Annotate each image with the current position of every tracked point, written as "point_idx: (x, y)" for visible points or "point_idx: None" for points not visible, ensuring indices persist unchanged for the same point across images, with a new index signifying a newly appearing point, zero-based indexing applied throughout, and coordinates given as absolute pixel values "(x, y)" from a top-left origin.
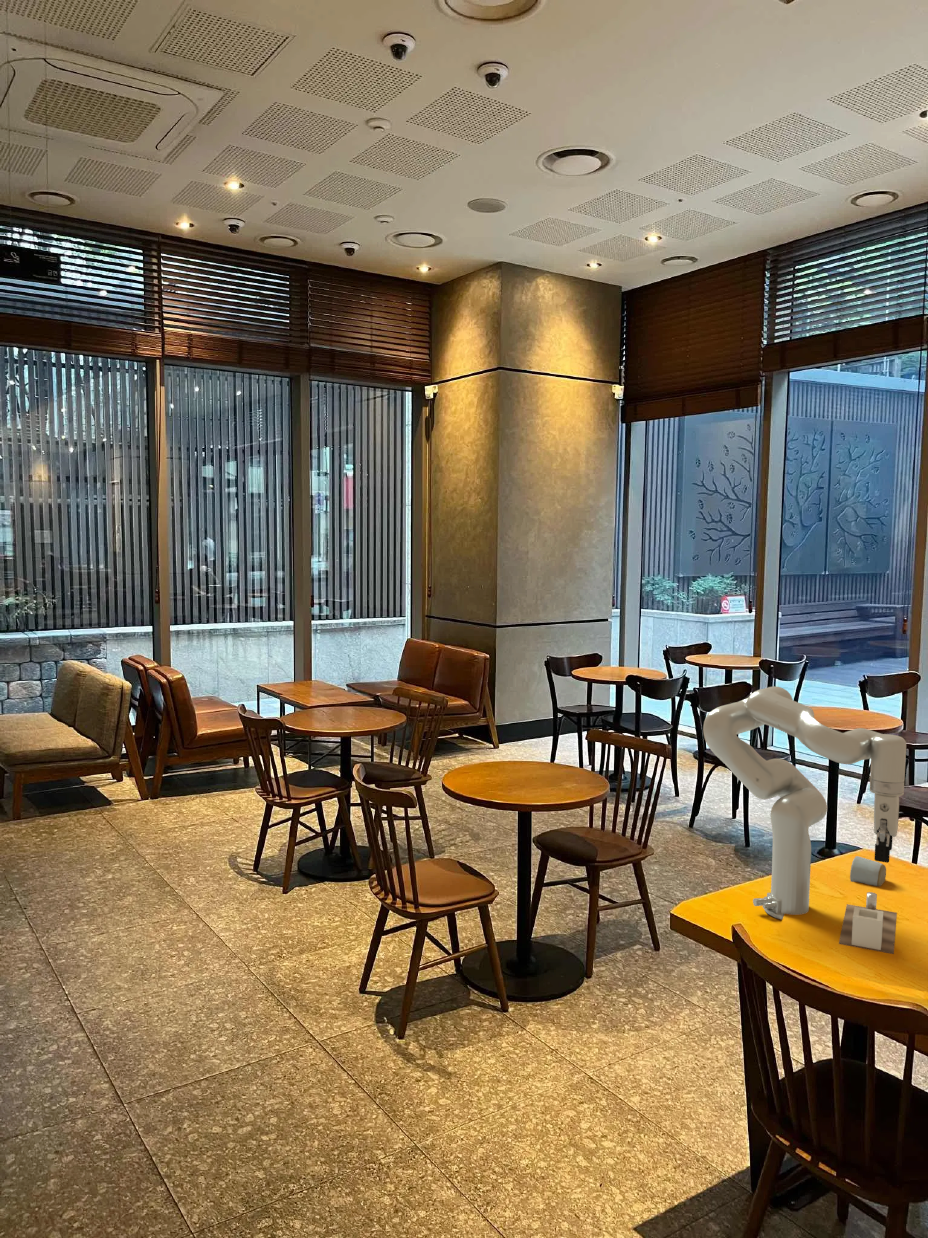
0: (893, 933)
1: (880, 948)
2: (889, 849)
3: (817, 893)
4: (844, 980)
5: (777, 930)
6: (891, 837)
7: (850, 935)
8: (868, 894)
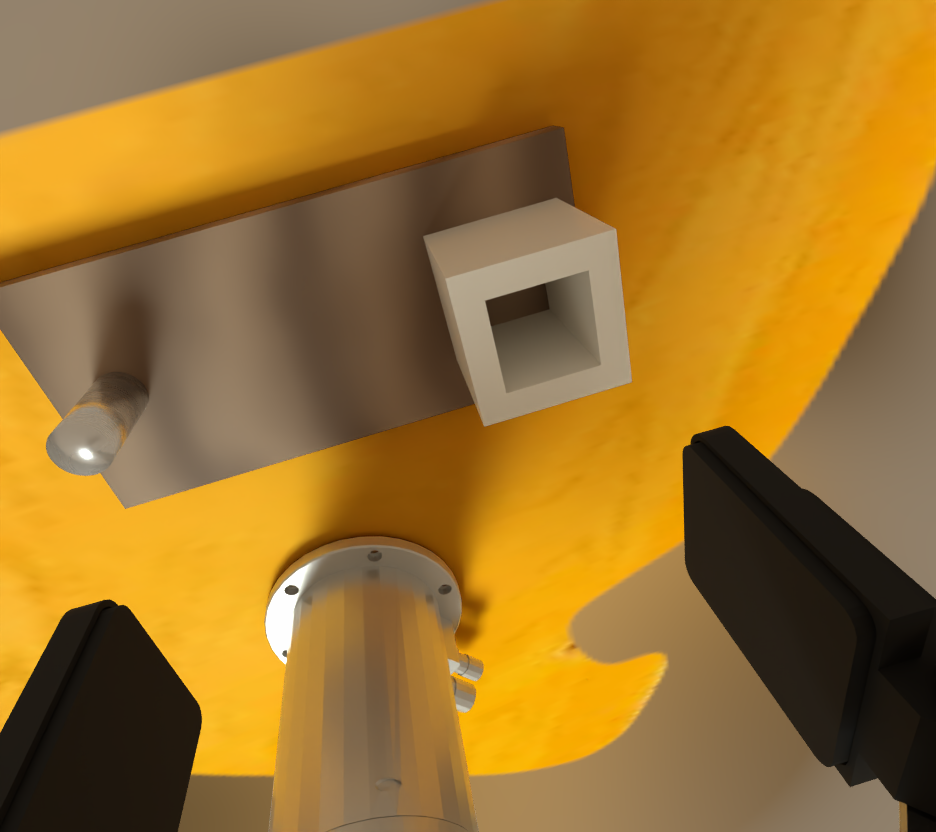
0: (300, 212)
1: (560, 200)
2: (880, 564)
3: None
4: (847, 236)
5: (548, 564)
6: (22, 827)
7: None
8: (108, 460)
